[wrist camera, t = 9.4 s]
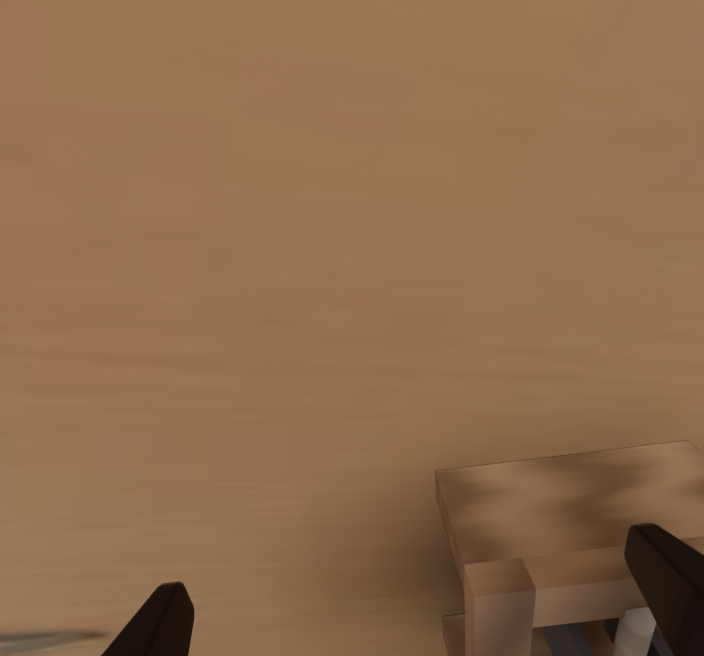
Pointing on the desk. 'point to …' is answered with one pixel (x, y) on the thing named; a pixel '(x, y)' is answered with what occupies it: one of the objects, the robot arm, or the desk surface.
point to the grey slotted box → (574, 649)
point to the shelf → (562, 544)
